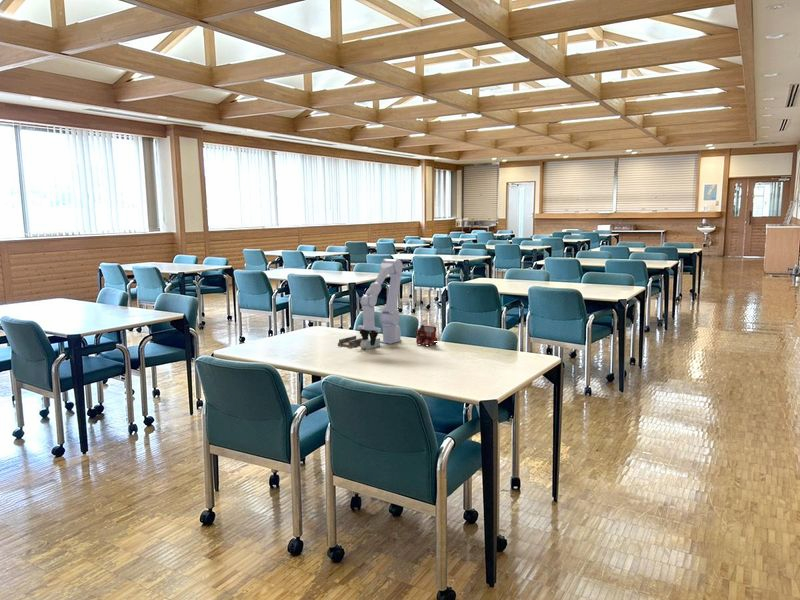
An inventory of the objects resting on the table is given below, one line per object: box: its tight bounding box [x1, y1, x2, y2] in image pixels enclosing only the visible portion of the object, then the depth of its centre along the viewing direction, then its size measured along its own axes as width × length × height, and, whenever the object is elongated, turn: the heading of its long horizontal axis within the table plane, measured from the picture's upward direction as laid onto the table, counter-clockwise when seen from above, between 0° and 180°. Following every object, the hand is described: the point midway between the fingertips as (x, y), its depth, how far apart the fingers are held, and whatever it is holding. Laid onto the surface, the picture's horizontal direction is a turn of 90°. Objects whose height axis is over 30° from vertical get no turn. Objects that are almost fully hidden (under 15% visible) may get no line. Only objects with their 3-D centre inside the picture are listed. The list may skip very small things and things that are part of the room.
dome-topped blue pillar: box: [359, 337, 381, 350], centre depth 302 cm, size 12×4×4 cm, turn 140°
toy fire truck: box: [415, 324, 438, 347], centre depth 305 cm, size 7×12×10 cm, turn 48°
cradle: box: [337, 335, 363, 348], centre depth 309 cm, size 12×10×3 cm
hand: (369, 344), depth 302 cm, fingers closed on dome-topped blue pillar, 4 cm apart
